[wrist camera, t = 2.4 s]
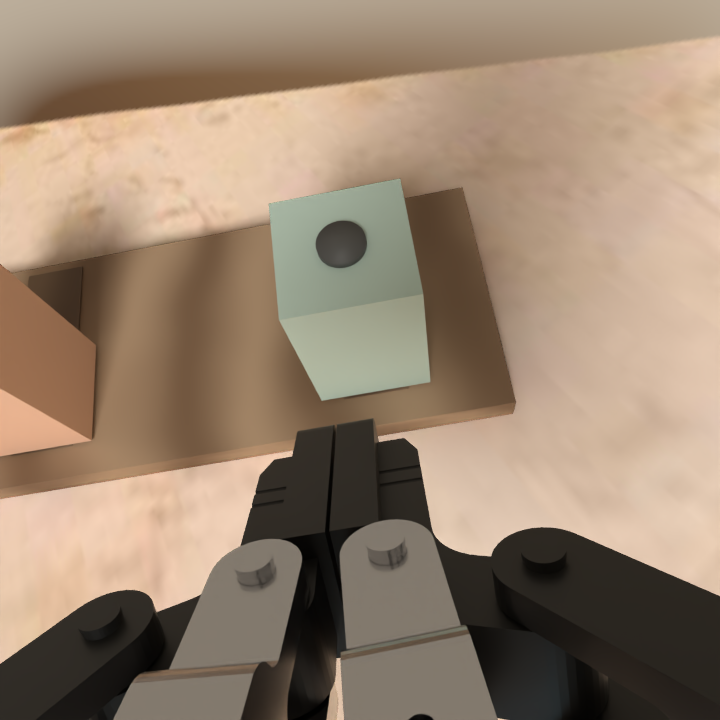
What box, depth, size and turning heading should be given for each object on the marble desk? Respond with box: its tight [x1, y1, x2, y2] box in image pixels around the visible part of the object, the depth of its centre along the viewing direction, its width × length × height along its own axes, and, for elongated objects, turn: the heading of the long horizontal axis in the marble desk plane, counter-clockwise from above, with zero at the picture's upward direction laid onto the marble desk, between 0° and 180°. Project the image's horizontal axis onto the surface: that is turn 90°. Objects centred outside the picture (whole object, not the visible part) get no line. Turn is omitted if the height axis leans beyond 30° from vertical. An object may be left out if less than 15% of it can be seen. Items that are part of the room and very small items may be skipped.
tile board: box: [0, 188, 516, 499], centre depth 32 cm, size 28×12×2 cm, turn 97°
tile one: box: [269, 179, 430, 401], centre depth 26 cm, size 5×5×8 cm
